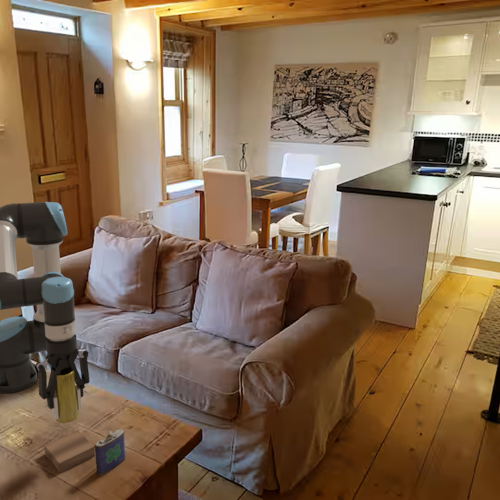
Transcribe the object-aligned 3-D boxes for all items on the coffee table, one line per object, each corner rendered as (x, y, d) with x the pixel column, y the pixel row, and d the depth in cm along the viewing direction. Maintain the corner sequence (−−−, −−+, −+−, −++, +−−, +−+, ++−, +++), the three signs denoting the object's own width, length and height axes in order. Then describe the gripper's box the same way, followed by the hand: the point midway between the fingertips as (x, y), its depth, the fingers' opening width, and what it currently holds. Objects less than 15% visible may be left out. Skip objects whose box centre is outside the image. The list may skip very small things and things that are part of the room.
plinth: (45, 454, 135) (44, 444, 134) (78, 438, 142) (78, 430, 141) (60, 472, 128) (59, 463, 127) (94, 455, 135) (94, 446, 134)
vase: (63, 426, 127) (59, 379, 124) (50, 417, 131) (46, 371, 127) (83, 416, 132) (80, 370, 128) (70, 408, 135) (67, 362, 132)
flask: (121, 454, 136) (120, 422, 133) (128, 459, 134) (127, 426, 131) (94, 472, 128) (92, 438, 126) (101, 477, 127) (99, 443, 124)
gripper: (30, 351, 116) (37, 433, 122) (100, 330, 129) (104, 405, 135) (18, 341, 121) (26, 420, 127) (88, 322, 134) (92, 394, 140)
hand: (66, 412), depth 131 cm, fingers closed on vase, 6 cm apart
